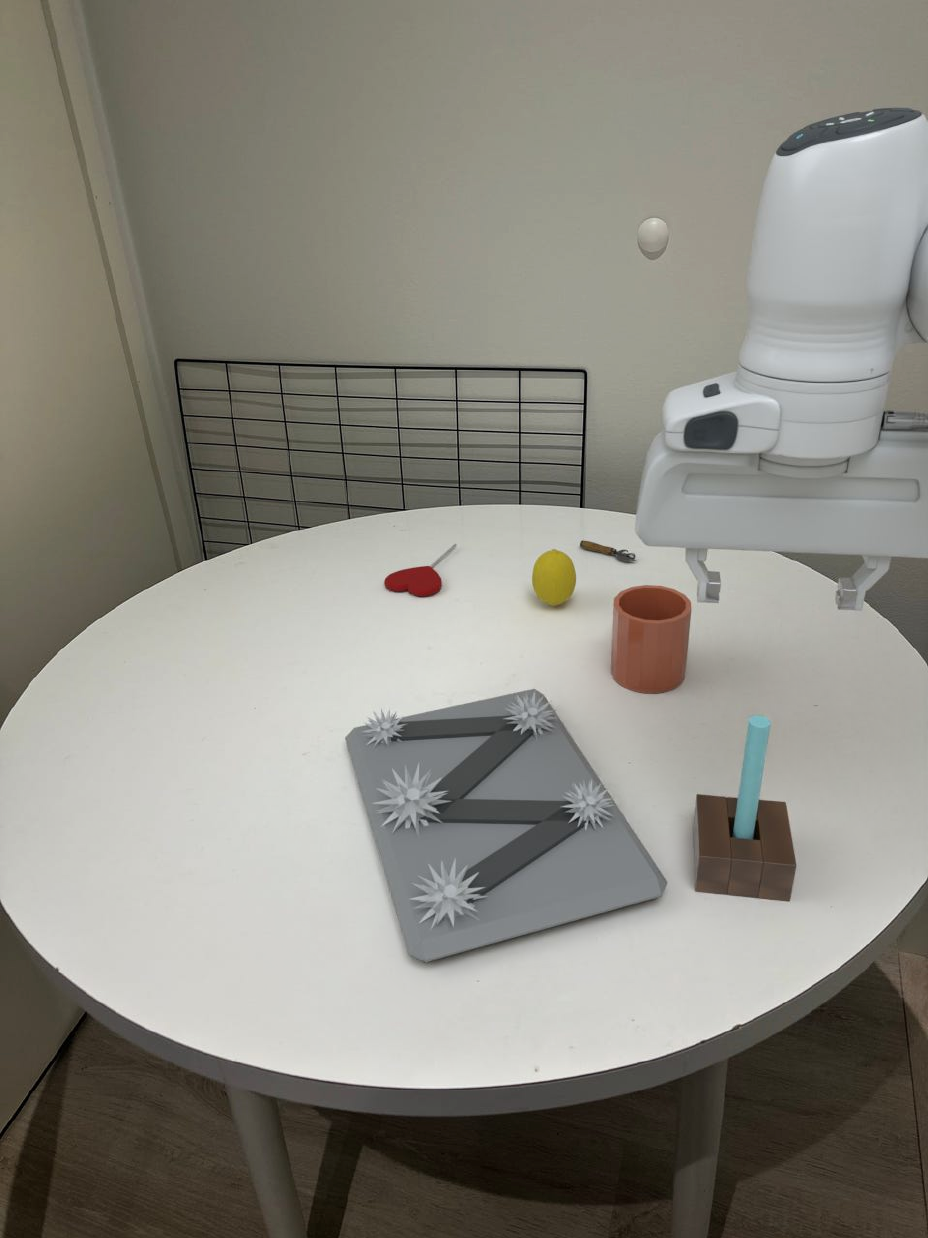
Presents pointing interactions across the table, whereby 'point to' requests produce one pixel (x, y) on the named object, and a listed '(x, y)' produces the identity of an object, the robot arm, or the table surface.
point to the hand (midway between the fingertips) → (776, 602)
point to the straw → (751, 776)
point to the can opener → (607, 550)
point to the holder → (743, 850)
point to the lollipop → (416, 579)
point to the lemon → (554, 577)
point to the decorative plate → (493, 824)
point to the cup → (650, 638)
